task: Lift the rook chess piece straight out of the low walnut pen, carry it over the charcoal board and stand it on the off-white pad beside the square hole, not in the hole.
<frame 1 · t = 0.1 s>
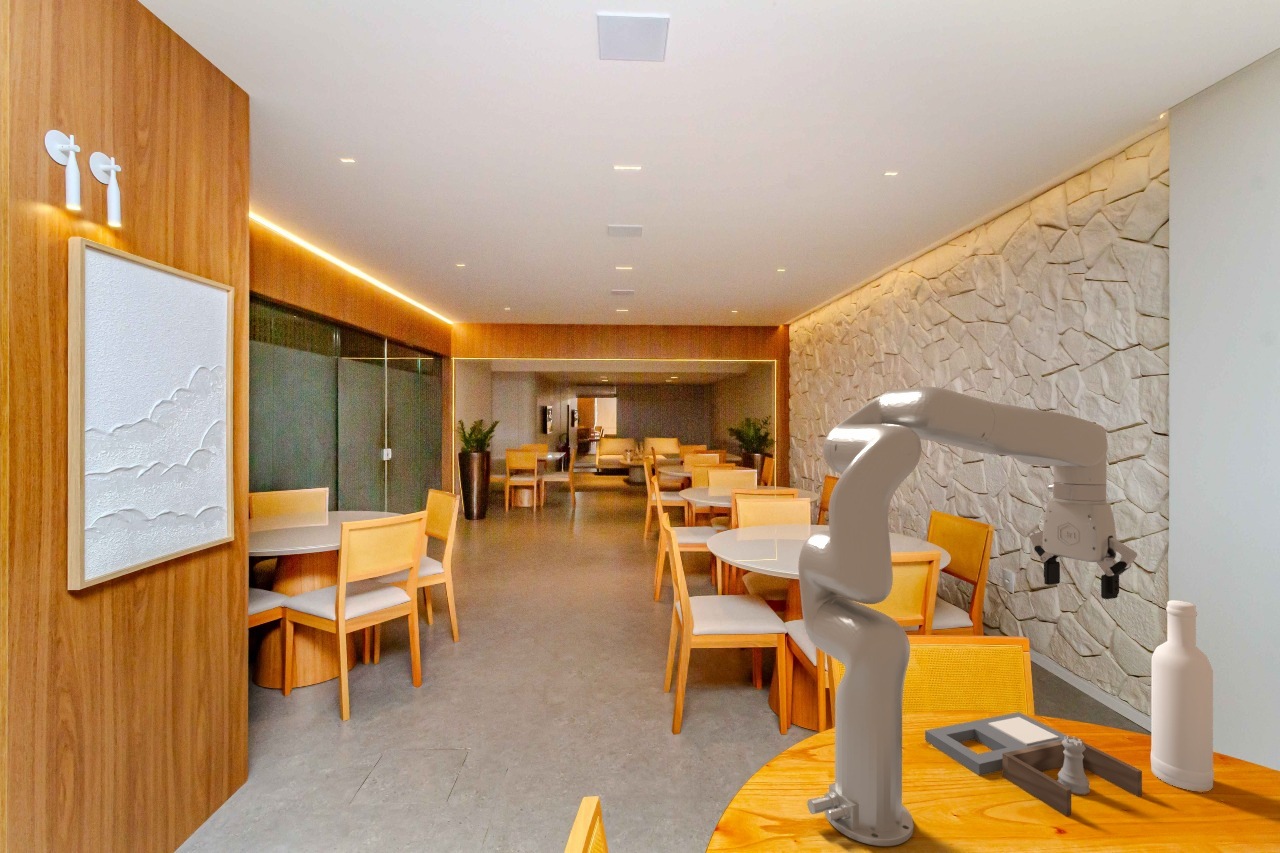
hand: (1079, 590, 105), 31 cm above the table, tool pointing down, fingers open, 9 cm apart
bottle: (1181, 780, 101), on the table
walnut pen: (1073, 787, 99), on the table
hole board: (1000, 746, 112), on the table
rook chess piece: (1073, 789, 99), on the table
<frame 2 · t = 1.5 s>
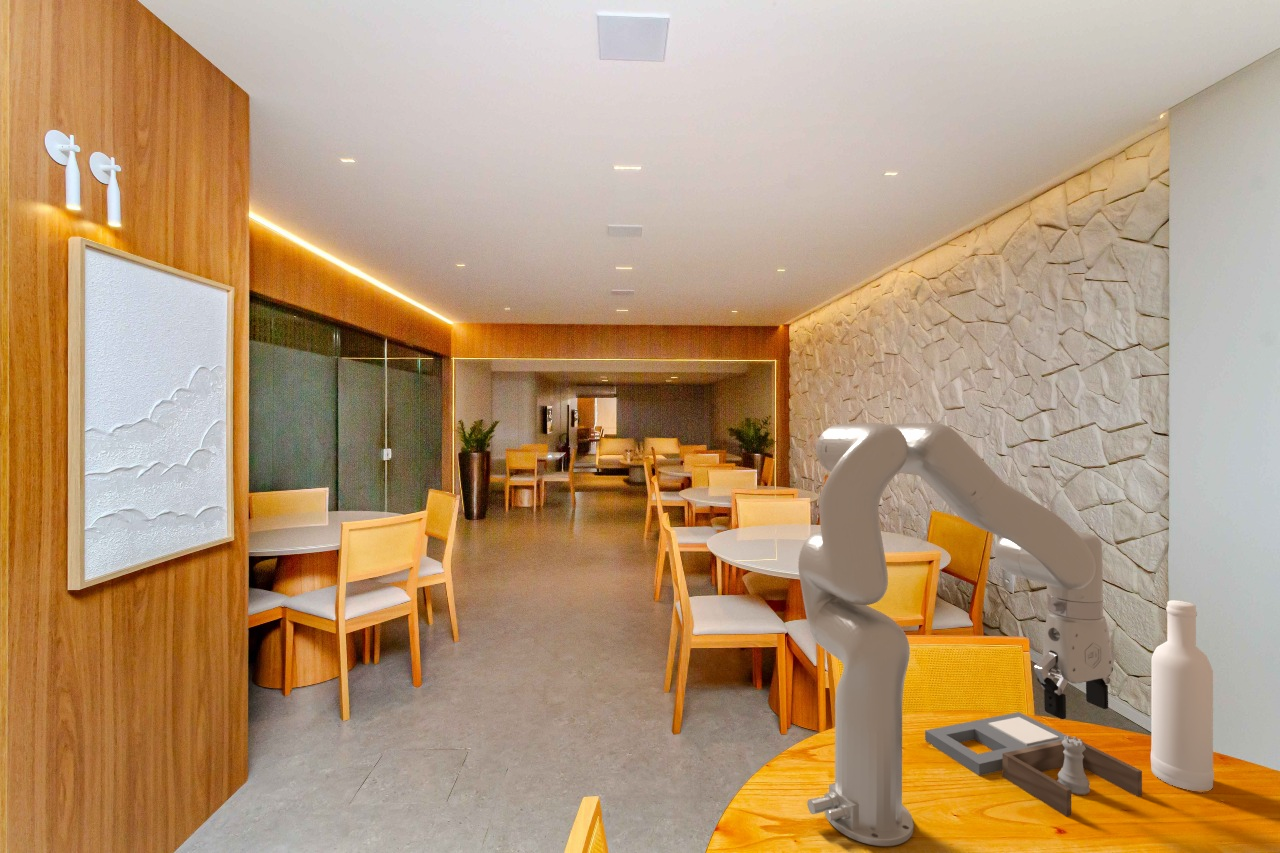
hand: (1076, 710, 99), 13 cm above the table, tool pointing down, fingers open, 9 cm apart
nothing on the table moved.
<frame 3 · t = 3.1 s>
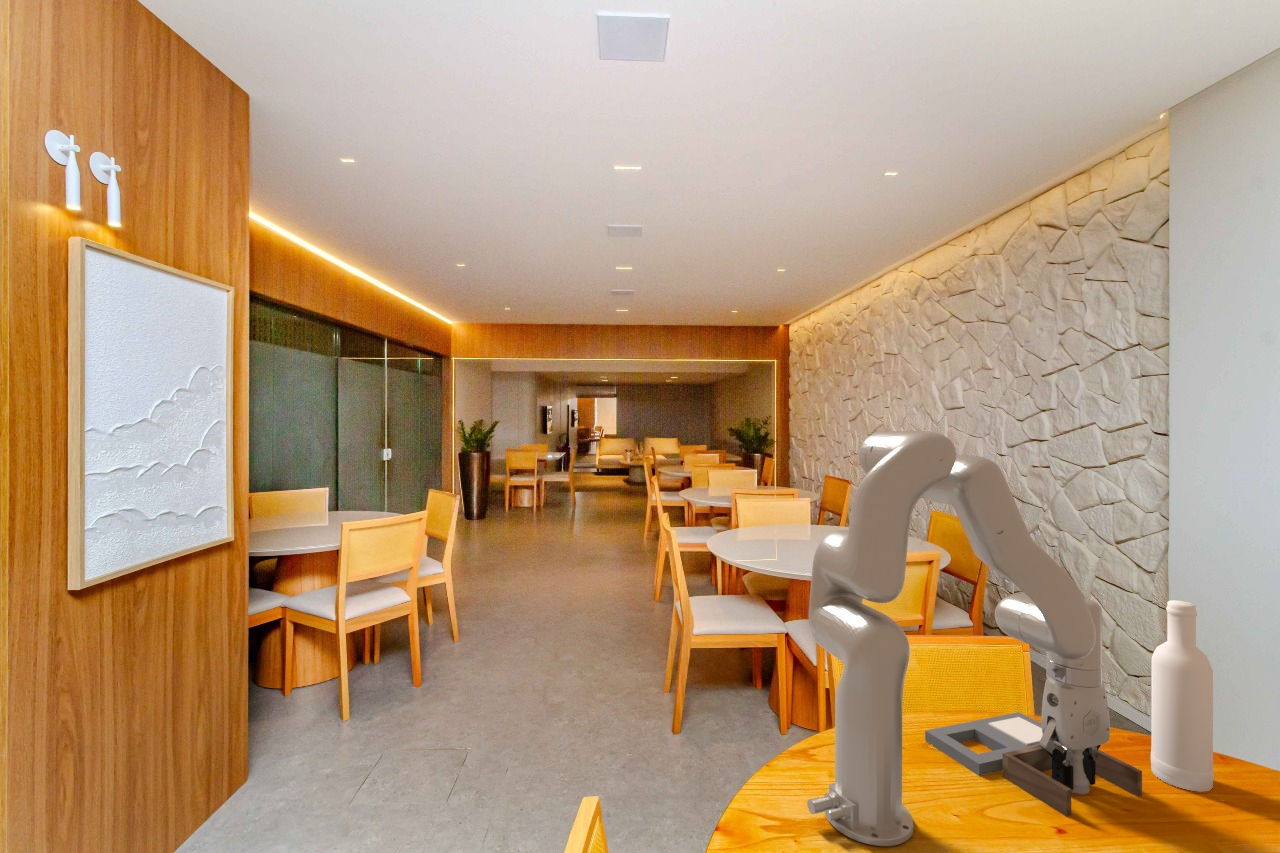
hand: (1073, 781, 99), 1 cm above the table, tool pointing down, fingers closed on rook chess piece, 4 cm apart
rook chess piece: (1073, 788, 99), on the table, touching gripper
everything else where it was.
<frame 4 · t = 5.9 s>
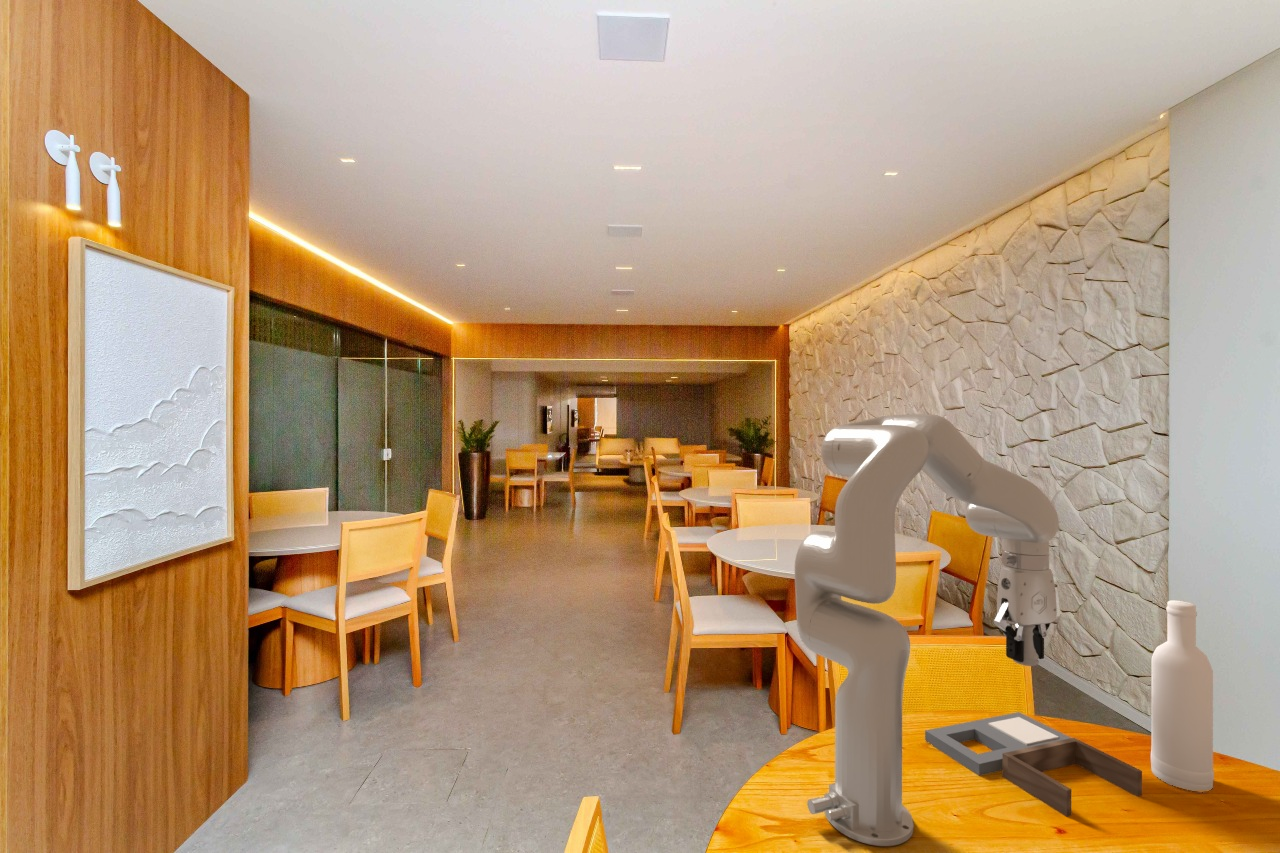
hand: (1024, 657, 113), 16 cm above the table, tool pointing down, fingers closed on rook chess piece, 4 cm apart
rook chess piece: (1025, 663, 113), point 15 cm above the table, touching gripper
everything else where it was.
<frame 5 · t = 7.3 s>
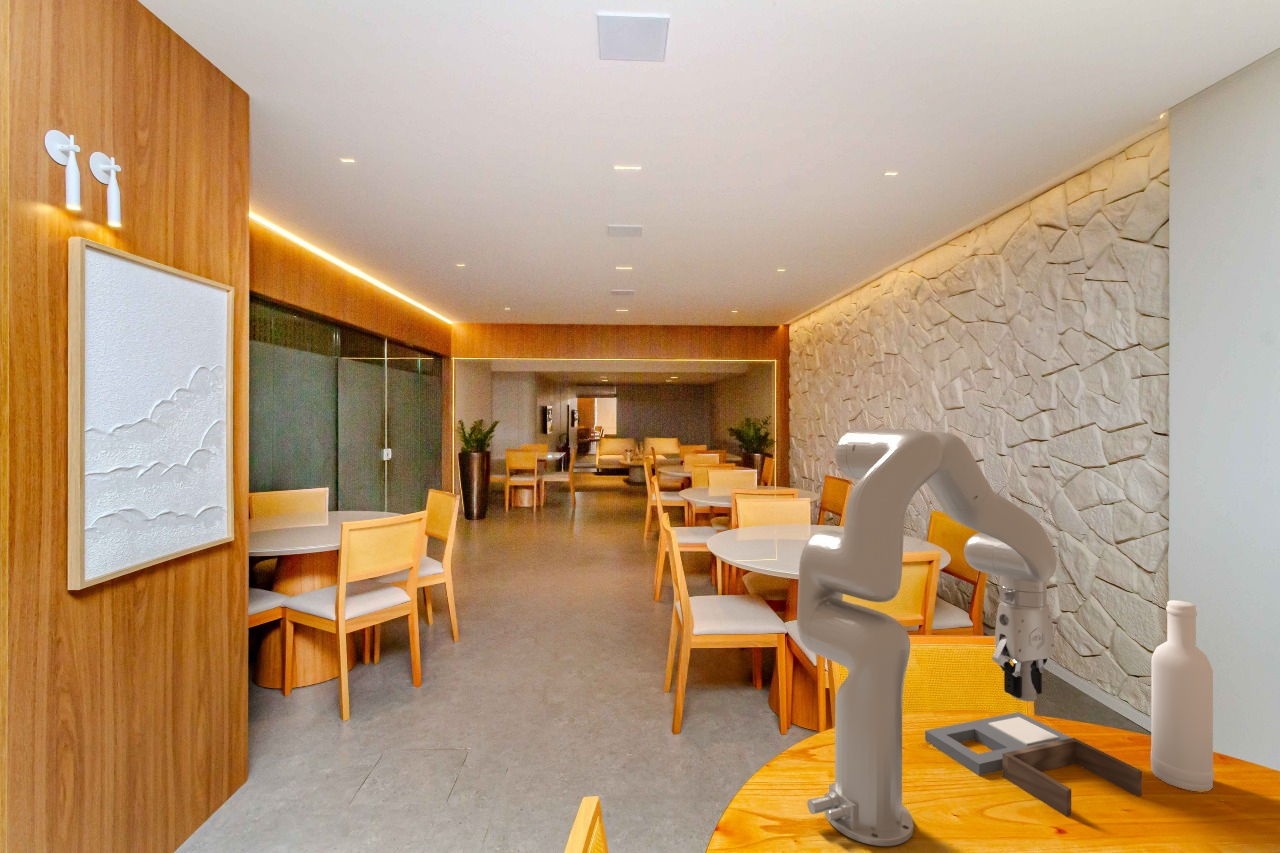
hand: (1022, 691, 113), 9 cm above the table, tool pointing down, fingers closed on rook chess piece, 4 cm apart
rook chess piece: (1023, 698, 113), point 8 cm above the table, touching gripper
everything else where it was.
when the fingers open (5 cm above the table, at t = 8.5 s): rook chess piece drops 1 cm, resting on hole board.
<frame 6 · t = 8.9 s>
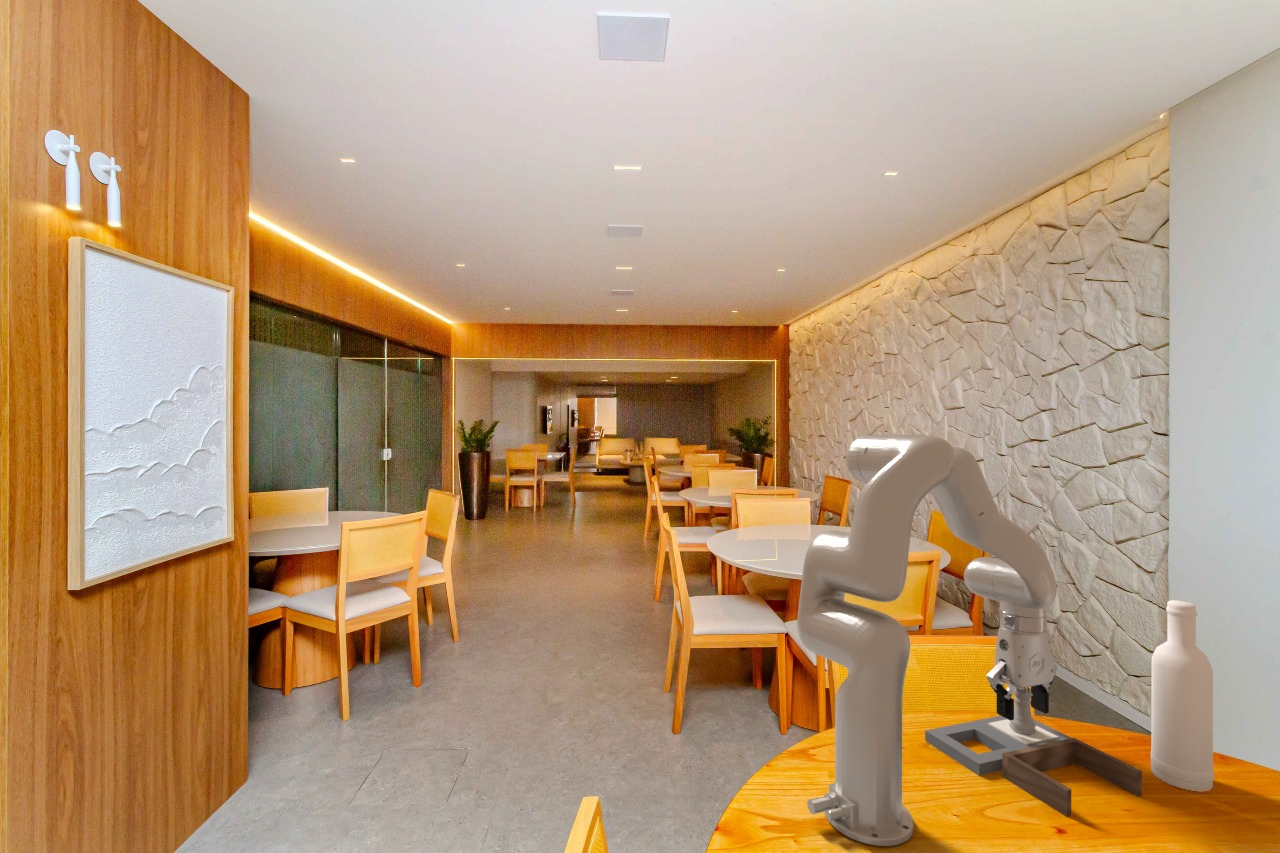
hand: (1022, 713, 113), 5 cm above the table, tool pointing down, fingers open, 8 cm apart
rook chess piece: (1022, 730, 113), point 2 cm above the table, touching hole board
everything else where it was.
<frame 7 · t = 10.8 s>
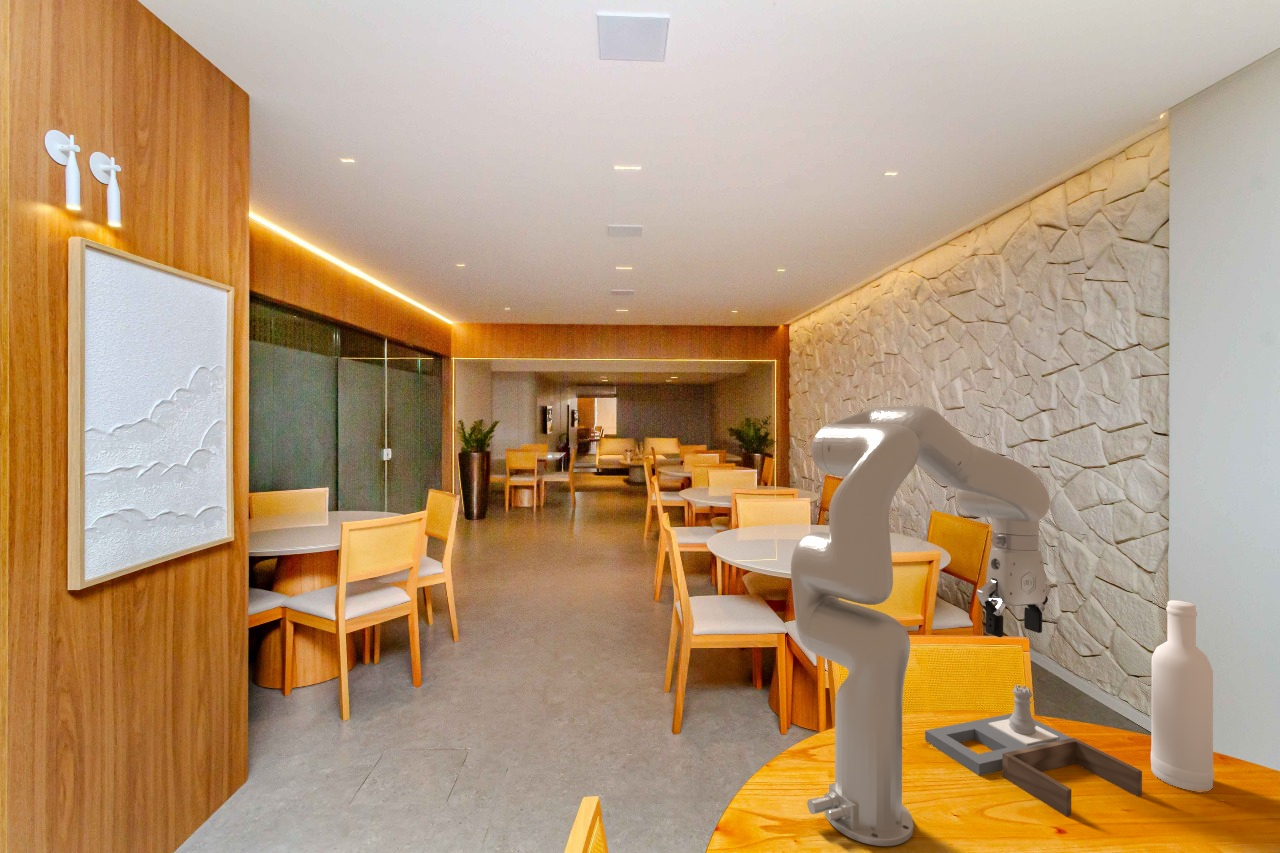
hand: (1013, 632, 113), 21 cm above the table, tool pointing down, fingers open, 9 cm apart
nothing on the table moved.
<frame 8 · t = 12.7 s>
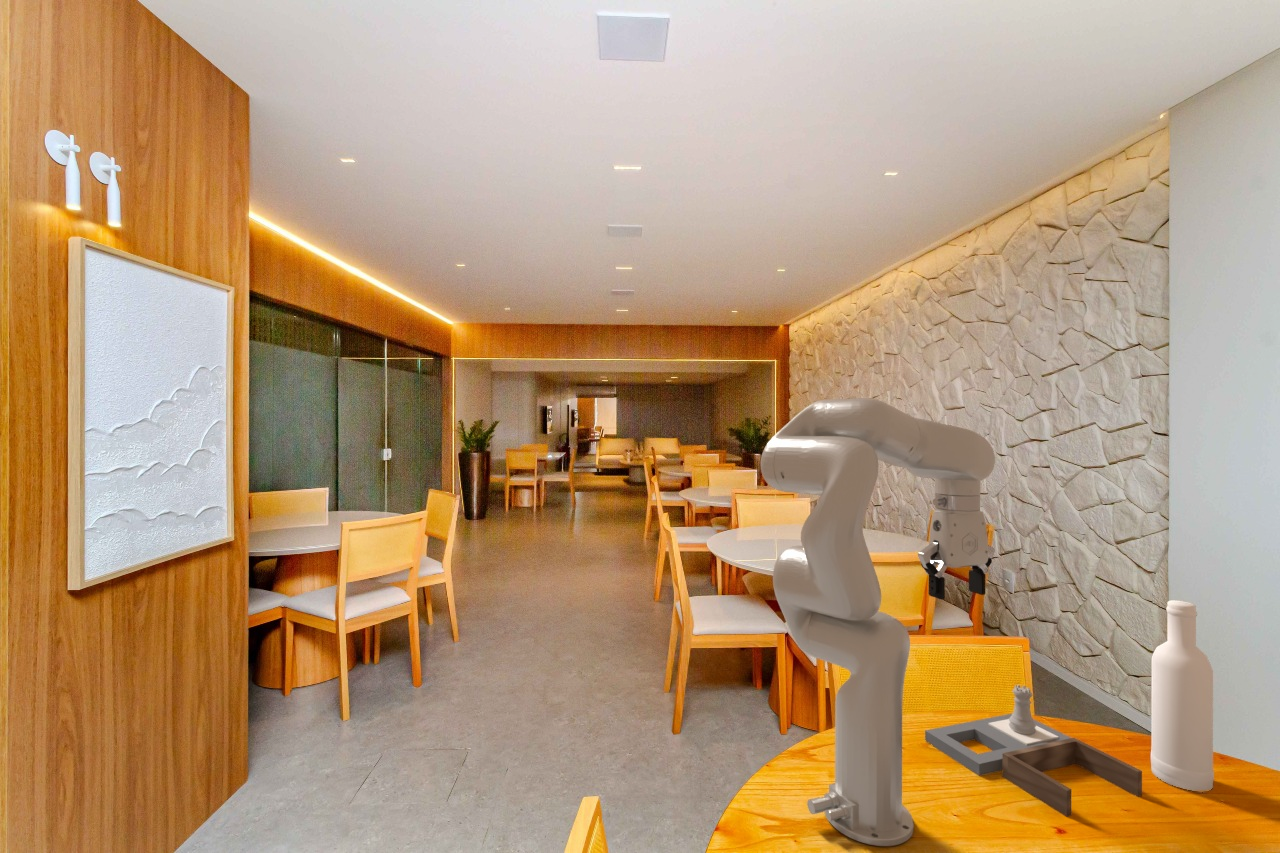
hand: (957, 595, 112), 28 cm above the table, tool pointing down, fingers open, 9 cm apart
nothing on the table moved.
at the end: rook chess piece 0.1 cm from the target spot on the hole board, point 2.1 cm above the hole board's base; rook chess piece tilted 0°; the gripper is holding nothing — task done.
